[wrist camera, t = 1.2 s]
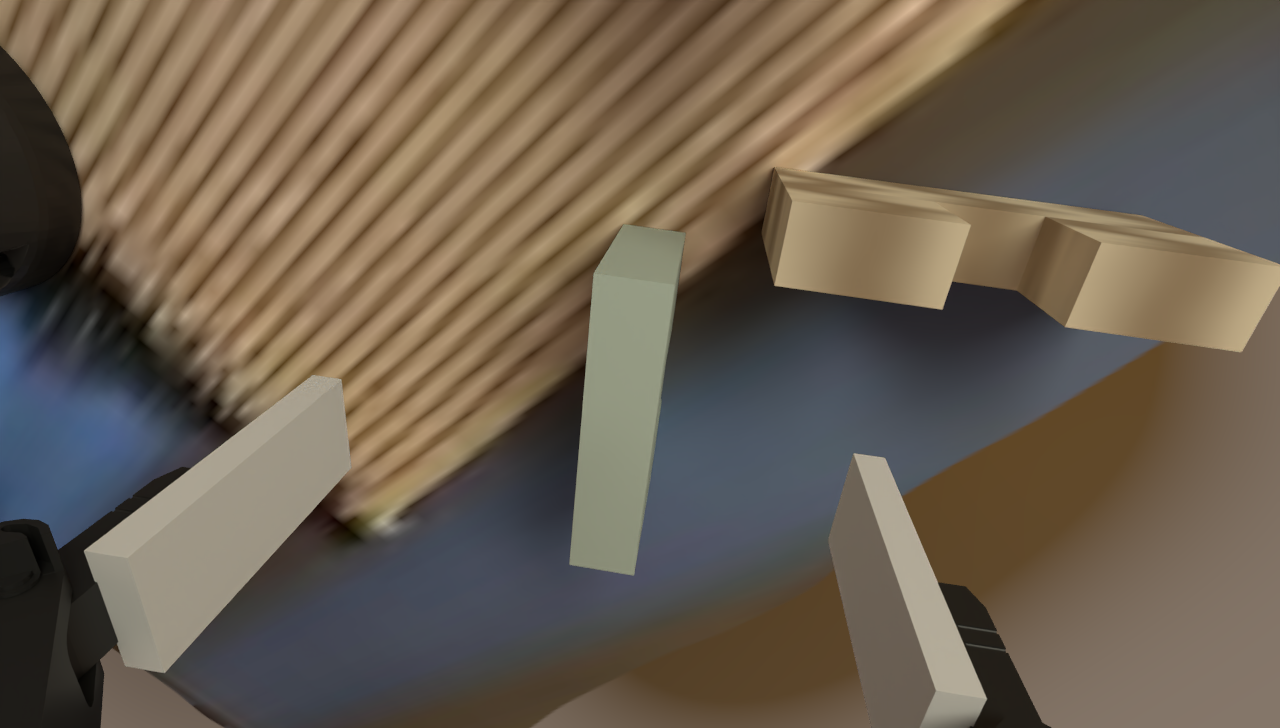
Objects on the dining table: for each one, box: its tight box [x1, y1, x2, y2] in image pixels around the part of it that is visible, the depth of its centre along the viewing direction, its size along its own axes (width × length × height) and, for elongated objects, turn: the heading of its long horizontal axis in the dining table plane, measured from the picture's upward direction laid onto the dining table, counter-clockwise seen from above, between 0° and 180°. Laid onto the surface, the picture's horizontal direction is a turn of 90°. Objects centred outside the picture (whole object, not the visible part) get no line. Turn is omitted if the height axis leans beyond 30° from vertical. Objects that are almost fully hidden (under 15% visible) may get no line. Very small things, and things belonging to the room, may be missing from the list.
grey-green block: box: [569, 224, 686, 575], centre depth 30 cm, size 3×14×8 cm, turn 174°
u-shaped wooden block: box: [761, 167, 1280, 352], centre depth 25 cm, size 16×3×8 cm, turn 84°
